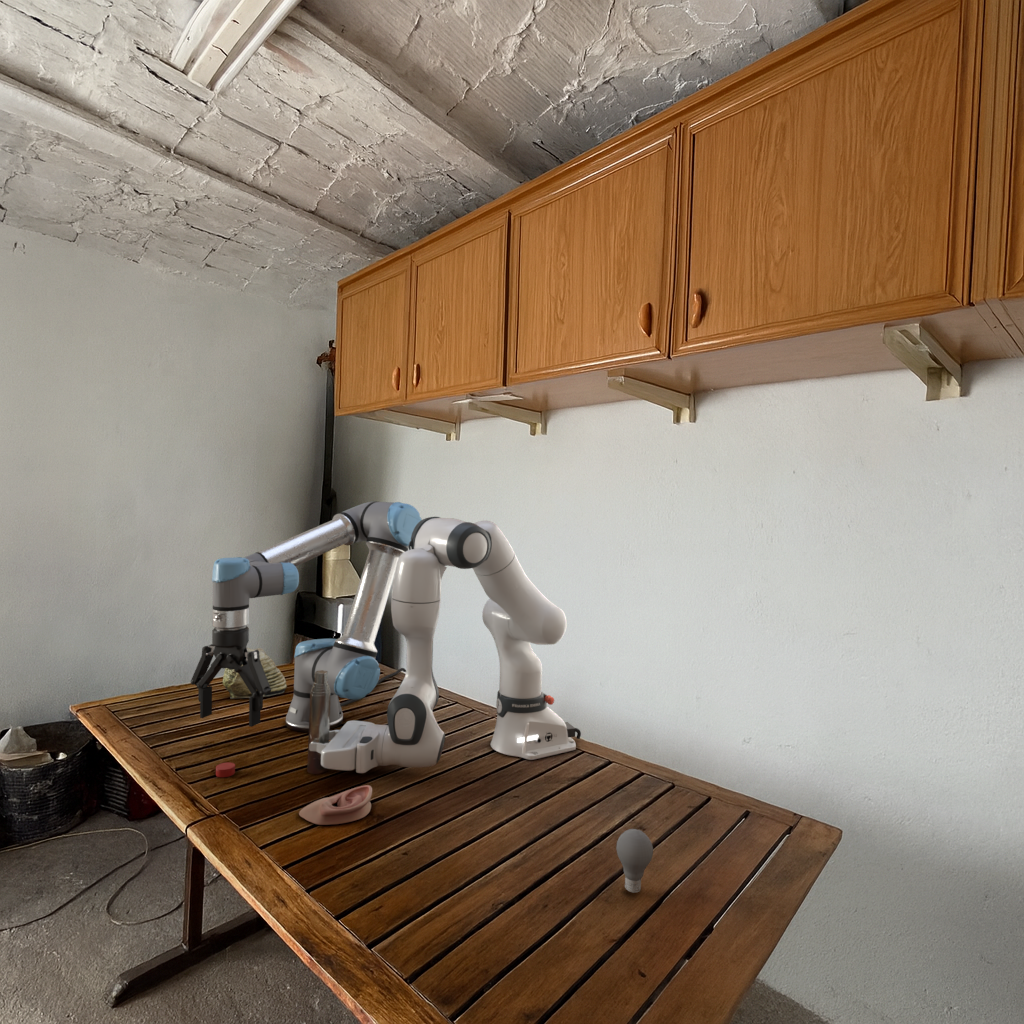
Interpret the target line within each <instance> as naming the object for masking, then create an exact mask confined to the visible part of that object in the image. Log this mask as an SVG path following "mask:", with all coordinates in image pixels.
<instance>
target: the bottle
mask: <svg viewBox="0 0 1024 1024" xmlns="http://www.w3.org/2000/svg"><path fill="white" fill-rule="evenodd" d="M327 674H328V672H327V671H325V670H320V671H316V672H315V682H314V684H313V687H312V689H311V692H310V713H309V732H308V745H307V766H306V767H307V770H306V771H307V773H309V774H311V775H320V774H324V773H326V772H327V771H329V769H327V768H324V767H323V766H321V753H318V752H317V751H310V750H309V744H310V743H311V742H312V741H319V743H322V744H325V743H329V742H330V740H329V731H330V729H329V727H330V701H331V691H330V687H329V684H328V681H327Z"/></svg>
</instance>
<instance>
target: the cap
mask: <svg viewBox="0 0 1024 1024" xmlns="http://www.w3.org/2000/svg"><path fill="white" fill-rule="evenodd" d="M235 773H236V763H234V762H230V761H229V762H221V763H219V764H217V765H216V766H215V776H216V777H217V778H229V777H231V776H234V775H235Z"/></svg>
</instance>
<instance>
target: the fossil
mask: <svg viewBox="0 0 1024 1024" xmlns="http://www.w3.org/2000/svg"><path fill="white" fill-rule="evenodd" d="M255 650H258V651H259V655H260V661H261V664H262V667H263V669H264V672H265V675H266V677H267V680H268V682H269V685H270V688H271V692H269V693H267V694H265V695H263V698H264V697H271V696H275V695H281V694H284V693H285V691H286V689H287V687H288V686H287V680H286V678H285V676H284V674H283V673H282V672H281V669H279V668H278V667H277V665H276V663H275V662H274V660H273V659H272V658H271V657H270V656H269V655H268V654H267V653H266V652H265V650H264V649H263V648H260V647H258V648H251V647H247V651H255ZM241 666H243V664H242V665H241ZM222 676H223V677H222V685H223V687H224V688H225V690H226V691H228V693H229V698H230V699H249V697H251V696H253V695H252V694H251V692H250V691H249V689H248V687H247V686H246V684H245V683H244V681H243V679H242V678H241V676H240V675H239V673H237V672H235V670H230V669H228V668H225V669H224V671H223V675H222ZM256 691H257V690H256Z"/></svg>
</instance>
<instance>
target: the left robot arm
mask: <svg viewBox="0 0 1024 1024" xmlns="http://www.w3.org/2000/svg"><path fill="white" fill-rule="evenodd" d="M421 520H423V519H422V517H421V514H420V512H419V511H418V509H417V508H416V507H415V506H413V505H411V504H409V503H406V502H405V503H403V502H400V501H396V502H393V501H378V500H377V501H375V500H373V501H368V502H364V503H360V504H357V505H356V506H353V507H351V508H348V509H346V510H344V511H341V512H339V513H336V514H334V515H333V516H332V520H329V521H327V522H324V523H322V524H320V525H317V526H315V527H313V528H311V529H308V530H306V531H303V532H301V533H298V534H295V535H293V536H291V537H289V538H287V539H284V540H282V541H280V542H278V543H275V544H273V545H270V546H268V547H265V548H264V549H261V550H259V551H256V552H253V553H251V554H248V555H246V556H244V557H242V556H236V557H235V556H234V557H221V558H218V559H216V560H215V561H214V562H213V567H212V578H211V582H212V627H213V629H212V631H211V644H208V645H204V646H203V647H202V649H201V656H200V658H199V661H198V662H197V665H196V667H195V670H194V673H193V675H192V677H191V680H190V684H191V685H192V686H196V688H197V689H198V691H197V692H198V694H197V695H198V697H197V699H198V702H199V718H200V719H204V718H206V717H208V716H211V715H213V686H211V685H212V682H213V680H214V679H215V677H216V676H217V675H218V674H219V672H220V671H221V670H222V669H224V670H225V668H228V669H230V670H235V672H237V673H239V675H240V676H241V678H242V679H243V681H244V683H245V684H246V686H247V687H248V689H249V691H250V692H251V694H252V695H253V696H251V697H249V698H248V699H249V700H248V727H249V728H253V727H255V726H257V725H258V724H260V723H261V711H262V710H263V708H264V697H263V695H265V694H267V693H269V692H271V688H270V685H269V682H268V680H267V677H266V675H265V672H264V669H263V667H262V664H261V661H260V655H259V651H258V650H255V651H247V648H248V647H247V646H248V643H249V642H250V641H249V640H250V628H249V627H248V625H250V599H255V598H263V597H264V598H265V597H271V596H283V595H287V594H291V593H293V592H295V591H296V590H297V589H298V587H299V584H300V573H299V570H298V568H297V566H300V565H302V564H304V563H306V562H309V561H310V560H313V559H315V558H317V557H320V556H321V555H324V554H326V553H328V552H330V551H332V550H334V549H337V548H339V547H340V546H343V545H344V546H352V545H354V544H356V543H359V542H360V543H361V542H365V544H366V546H367V548H368V554H367V557H366V560H365V564H364V567H363V570H362V573H361V576H360V580H359V582H358V586H357V589H356V592H355V595H354V598H353V602H352V605H351V608H350V611H349V614H348V617H347V621H346V624H345V626H344V629H343V633H342V635H341V636H339V637H338V638H317V639H308V640H304V641H300V642H299V643H297V645H296V646H295V650H294V655H293V657H294V672H293V673H294V674H293V695H292V696H293V697H292V699H291V702H290V704H289V708H288V711H287V713H286V715H285V726H286V728H287V729H289V730H291V731H294V732H295V731H296V732H301V733H309V713H310V692H311V689H312V687H313V684H314V682H315V672H316V671H320V670H325V671H327V672H328V674H327V681H328V684H329V687H330V691H331V701H330V727H329V730H332V729H335V728H337V727H339V726H340V725H342V723H343V722H344V713H343V709H342V707H344V706H347V705H350V704H353V703H356V702H359V701H360V700H362V699H363V698H365V697H366V696H367V695H369V694H370V693H372V691H373V690H374V689H375V688H376V687H377V685H379V684H381V683H382V682H383V681H386V680H387V679H389V678H392V677H395V676H397V675H398V674H400V673H401V672H403V673H406V668H404V667H401V668H399V669H397V670H396V671H394V672H392V673H389V674H387V675H385V676H383V677H380V676H381V667H379V666H380V664H379V662H378V660H376V658H377V654H378V649H377V647H376V645H375V642H376V638H377V635H378V631H379V629H380V625H381V622H382V618H383V616H384V613H385V608H386V605H387V601H388V599H389V595H390V592H391V590H392V587H393V580H394V574H395V569H396V565H397V562H398V559H399V557H400V556H401V554H403V553H404V552H406V551H408V550H409V543H410V541H411V536H412V532H413V530H414V528H415V526H416V525H417V524H418V523H419V522H420V521H421ZM214 657H215V658H214ZM213 658H214V660H213ZM212 660H213V662H212ZM242 664H243V666H241V665H242ZM256 690H257V691H256ZM339 698H341V699H347V700H346V701H343V702H340V699H339Z"/></svg>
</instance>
